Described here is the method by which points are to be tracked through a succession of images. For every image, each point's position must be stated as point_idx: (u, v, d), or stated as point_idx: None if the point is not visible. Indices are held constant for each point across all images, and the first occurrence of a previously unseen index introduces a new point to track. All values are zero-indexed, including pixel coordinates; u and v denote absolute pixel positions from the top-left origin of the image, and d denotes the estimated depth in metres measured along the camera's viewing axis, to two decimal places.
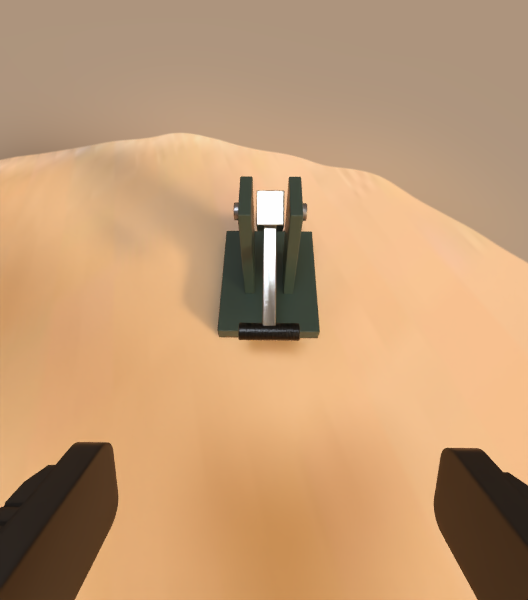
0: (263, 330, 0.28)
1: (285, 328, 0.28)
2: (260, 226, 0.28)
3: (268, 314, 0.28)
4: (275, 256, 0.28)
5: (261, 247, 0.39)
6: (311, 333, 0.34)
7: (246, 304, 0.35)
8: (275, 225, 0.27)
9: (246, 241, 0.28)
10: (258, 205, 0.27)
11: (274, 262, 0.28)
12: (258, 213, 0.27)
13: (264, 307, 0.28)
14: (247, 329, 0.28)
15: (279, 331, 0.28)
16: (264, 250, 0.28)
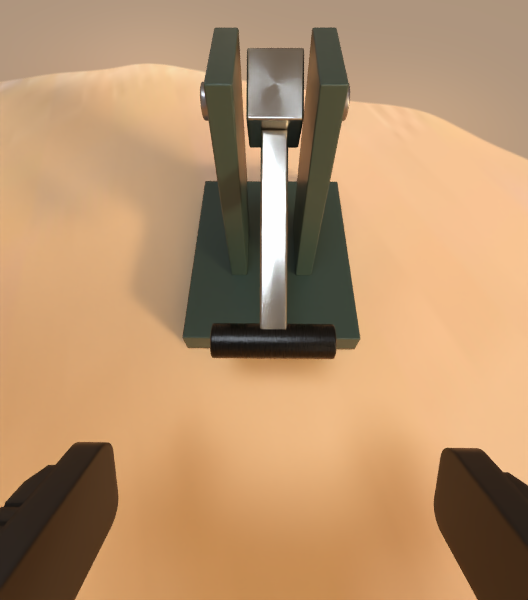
0: (261, 339, 0.13)
1: (306, 334, 0.14)
2: (254, 127, 0.14)
3: (272, 306, 0.14)
4: (285, 189, 0.14)
5: (259, 204, 0.24)
6: (344, 342, 0.19)
7: (233, 292, 0.21)
8: (286, 119, 0.13)
9: (227, 160, 0.14)
10: (250, 79, 0.13)
11: (283, 200, 0.14)
12: (250, 95, 0.13)
13: (263, 292, 0.14)
14: (228, 337, 0.13)
15: (294, 341, 0.13)
16: (263, 176, 0.14)
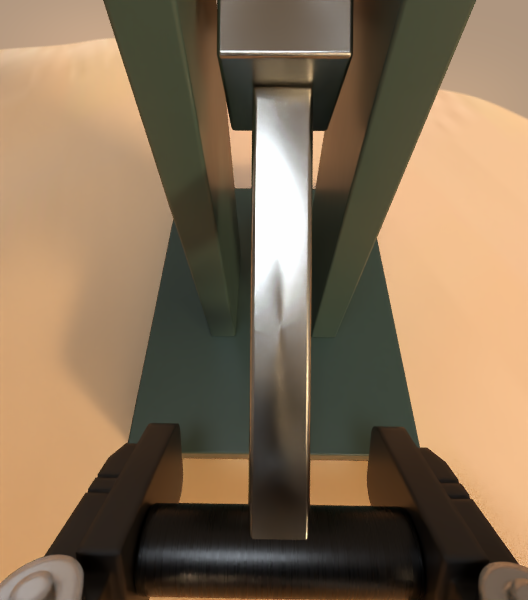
0: (252, 568, 0.06)
1: (356, 556, 0.06)
2: (238, 79, 0.06)
3: (276, 486, 0.06)
4: (306, 220, 0.06)
5: None
6: None
7: (213, 367, 0.13)
8: (313, 57, 0.05)
9: (181, 155, 0.07)
10: None
11: (303, 246, 0.06)
12: None
13: (257, 455, 0.06)
14: (176, 563, 0.06)
15: (329, 578, 0.06)
16: (257, 191, 0.06)
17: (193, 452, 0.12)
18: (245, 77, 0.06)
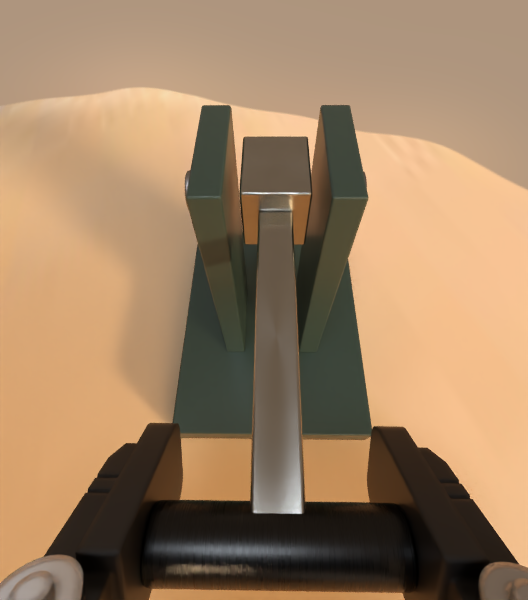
0: (253, 538, 0.06)
1: (348, 527, 0.06)
2: (250, 208, 0.11)
3: (275, 461, 0.07)
4: (291, 275, 0.09)
5: None
6: (355, 437, 0.17)
7: (229, 374, 0.18)
8: (291, 195, 0.10)
9: (219, 263, 0.12)
10: (245, 160, 0.11)
11: (290, 289, 0.09)
12: (245, 172, 0.11)
13: (259, 432, 0.07)
14: (183, 532, 0.06)
15: (324, 545, 0.06)
16: (260, 259, 0.10)
17: (217, 433, 0.17)
18: (254, 206, 0.11)
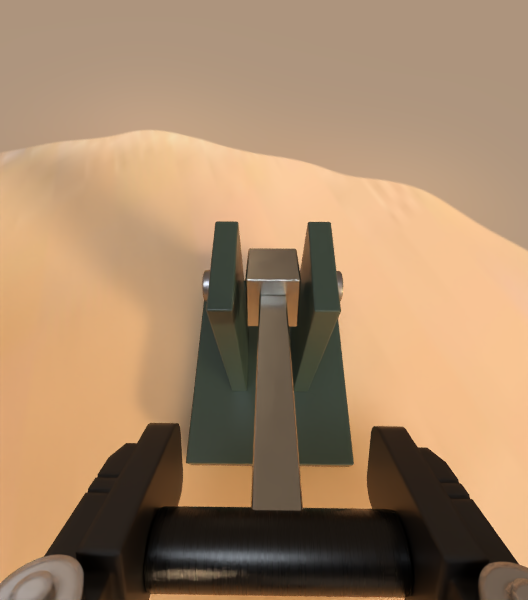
0: (254, 527, 0.07)
1: (343, 520, 0.07)
2: (253, 292, 0.14)
3: (273, 467, 0.08)
4: (286, 334, 0.12)
5: None
6: (339, 465, 0.21)
7: (233, 411, 0.22)
8: (284, 281, 0.13)
9: (228, 342, 0.15)
10: (250, 261, 0.15)
11: (285, 343, 0.11)
12: (249, 268, 0.14)
13: (259, 444, 0.08)
14: (188, 522, 0.07)
15: (321, 532, 0.07)
16: (261, 324, 0.12)
17: (224, 463, 0.20)
18: (256, 290, 0.14)
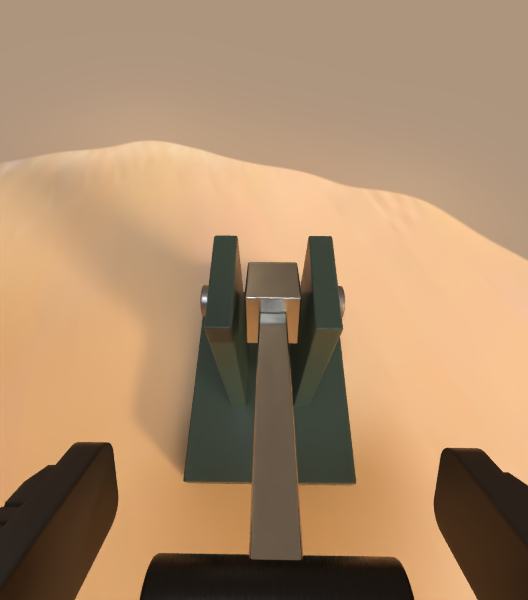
0: (252, 581, 0.06)
1: (345, 572, 0.07)
2: (252, 310, 0.13)
3: (273, 509, 0.08)
4: (286, 357, 0.11)
5: None
6: (341, 484, 0.20)
7: (232, 427, 0.21)
8: (284, 299, 0.13)
9: (227, 359, 0.15)
10: (249, 276, 0.14)
11: (285, 367, 0.11)
12: (249, 284, 0.14)
13: (258, 483, 0.08)
14: (184, 575, 0.06)
15: (322, 588, 0.06)
16: (260, 346, 0.12)
17: (223, 481, 0.20)
18: (255, 308, 0.13)
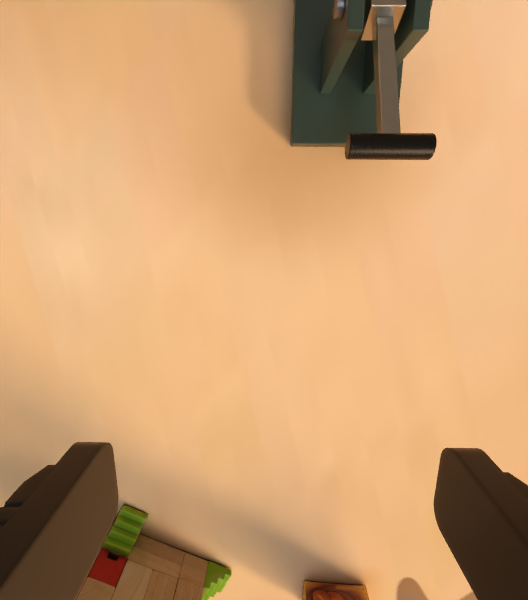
0: (385, 137, 0.20)
1: (415, 135, 0.20)
2: (372, 14, 0.21)
3: (390, 119, 0.20)
4: (394, 50, 0.21)
5: None
6: None
7: (321, 108, 0.32)
8: (396, 6, 0.21)
9: (345, 52, 0.24)
10: None
11: (393, 57, 0.21)
12: None
13: (384, 110, 0.20)
14: (362, 136, 0.20)
15: (408, 138, 0.20)
16: (379, 43, 0.21)
17: (315, 143, 0.33)
18: (375, 13, 0.21)
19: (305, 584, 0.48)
